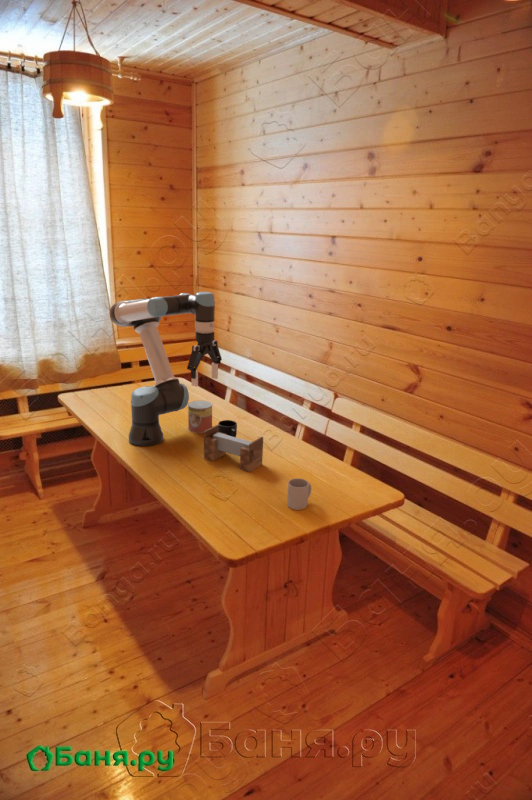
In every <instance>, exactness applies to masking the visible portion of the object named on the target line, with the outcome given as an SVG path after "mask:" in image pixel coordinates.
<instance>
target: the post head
mask: <svg viewBox="0 0 532 800" xmlns="http://www.w3.org/2000/svg"><path fill="white" fill-rule="evenodd" d="M216 433H221V432H218V424H216V425H214V426H212V428H210V429H208V430H206V431H204V433H203V459H207V460H209V461H210V460H211V461H212V462H214V461H216V460H218V459H219V458H221V457H223V456H225V455H226V454H227V452H223V451H220V450H217V439H214V438H213V435H214V434H216ZM221 434H224V433H221ZM225 435H227V434H225Z"/></svg>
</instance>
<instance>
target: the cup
mask: <svg viewBox="0 0 532 800" xmlns="http://www.w3.org/2000/svg"><path fill="white" fill-rule="evenodd" d="M287 483H288V484H287V496H286V497H287V498H286V499H287V501H286V503H287V504H286V505H287V507H288V508H289V509H291V510H293V509H295V510H294V511H301V510H300V509H303V510H305V509H306V508H307V507H308V500H309V498H310V496H311V493H312V485H311V483H310V482H309V481H308V480H306V479H304V478H297V477H296V478H291V479H289V480H288V481H287ZM304 508H305V509H304Z"/></svg>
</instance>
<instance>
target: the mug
mask: <svg viewBox="0 0 532 800" xmlns="http://www.w3.org/2000/svg"><path fill="white" fill-rule="evenodd" d="M217 425H218V432H221V433H224V434H227V435H229V436H232V437H236V438H237V435H238V434H237V431H238V430H237V429H238V423H237V422H236V421H235V420H231V419H224V420H220V421H219V422H218V424H217Z"/></svg>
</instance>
